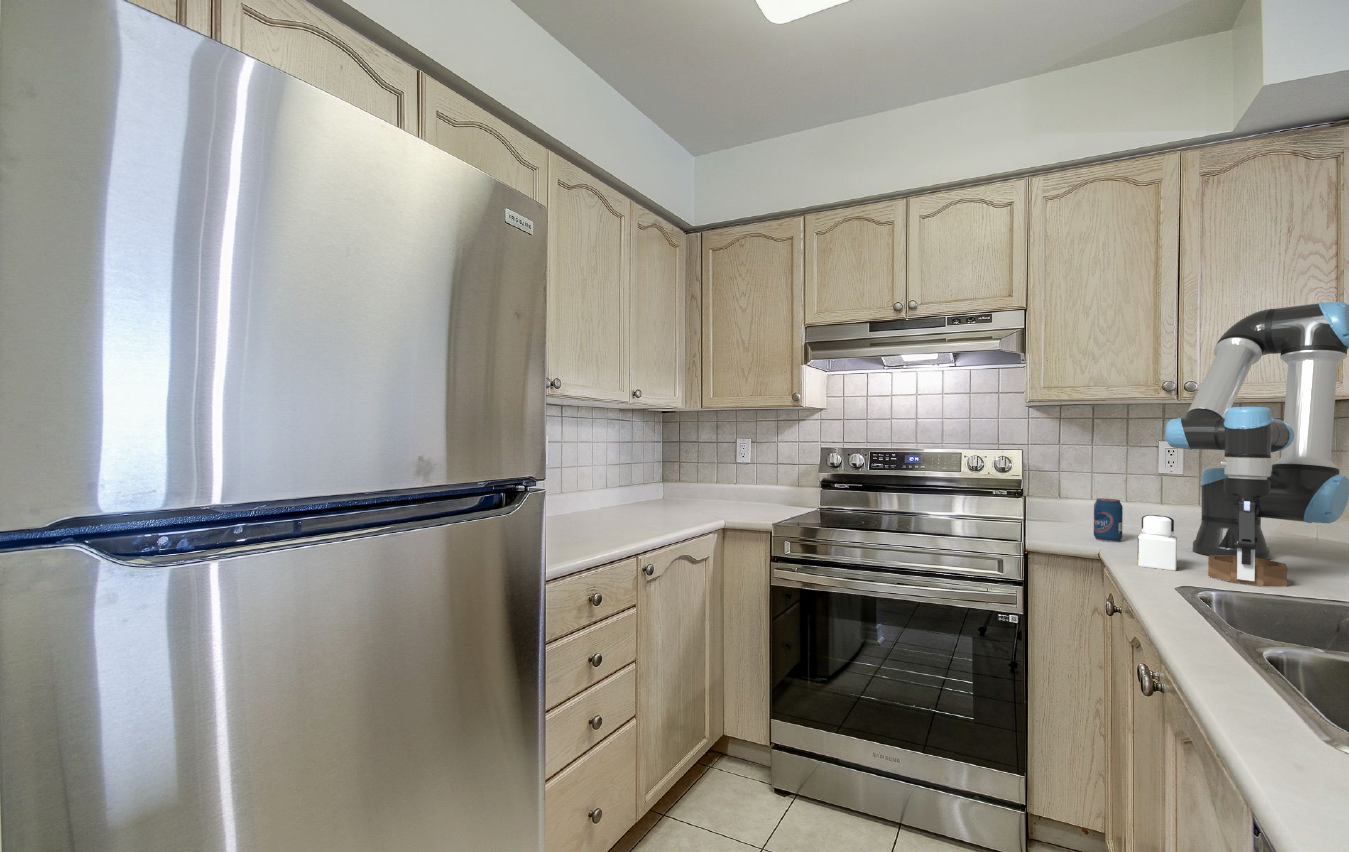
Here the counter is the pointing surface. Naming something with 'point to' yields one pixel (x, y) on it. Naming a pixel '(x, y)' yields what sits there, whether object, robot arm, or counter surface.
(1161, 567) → the medicine bottle
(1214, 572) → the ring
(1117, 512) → the soda can
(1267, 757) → the counter surface
